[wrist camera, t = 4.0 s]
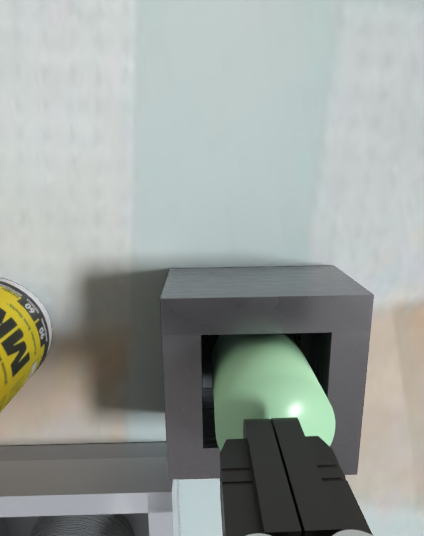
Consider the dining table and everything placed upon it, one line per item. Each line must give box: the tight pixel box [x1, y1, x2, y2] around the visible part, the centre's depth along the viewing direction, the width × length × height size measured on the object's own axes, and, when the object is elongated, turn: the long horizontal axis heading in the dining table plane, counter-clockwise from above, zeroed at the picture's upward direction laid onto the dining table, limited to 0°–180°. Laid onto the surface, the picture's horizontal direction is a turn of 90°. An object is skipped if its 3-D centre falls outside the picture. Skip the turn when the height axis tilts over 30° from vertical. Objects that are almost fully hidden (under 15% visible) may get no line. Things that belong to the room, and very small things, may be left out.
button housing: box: [160, 266, 374, 480], centre depth 16 cm, size 7×7×4 cm
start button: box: [212, 333, 335, 451], centre depth 14 cm, size 4×4×4 cm
